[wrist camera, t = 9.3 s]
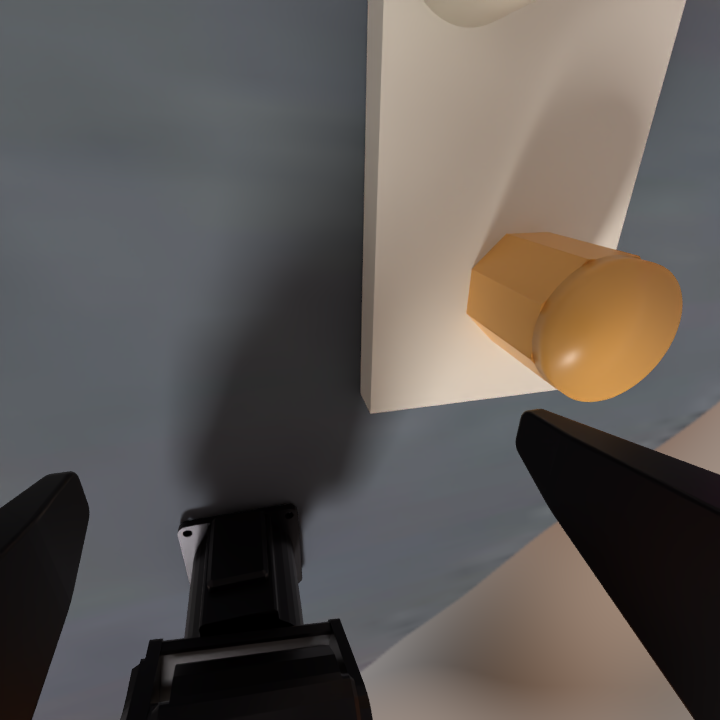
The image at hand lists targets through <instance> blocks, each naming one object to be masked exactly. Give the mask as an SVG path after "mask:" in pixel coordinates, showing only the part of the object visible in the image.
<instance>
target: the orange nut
mask: <svg viewBox="0 0 720 720" xmlns="http://www.w3.org/2000/svg"><path fill="white" fill-rule="evenodd" d="M466 314H468V316H469V317H470V318H471V319H472V320H473V321H474V322H475V323H476V324H477V325H478V326H479V327H480V329H481V330H482V331H483V332H484V333H485V334H486V335H487V336H488V337H489V338H490V339H491V340H492V341H493V342H495V343H496V344H497V345H499V346H500V347H501V348H502V349H504V350H505V351H506V352H508V353H509V354H510V355H512V356H513V357H514V358H516V359H517V360H518V361H520V362H521V363H522V364H524V365H525V366H526V367H528V368H529V369H530V370H532V371H533V372H534V373H536V374H537V375H538V376H540V377H541V378H542V379H544V380H545V381H546V382H548V383H549V384H550V385H551V386H553V387H554V388H555V389H558V390H559V391H561V392H562V393H563V394H565V395H566V396H568V397H570V398H572V399H574V400H578V401H582V402H595V401H601V400H606V399H609V398H612V397H615V396H617V395H619V394H621V393H623V392H625V391H627V390H628V389H630V388H631V387H633V386H634V385H636V384H637V383H638V382H640V381H641V380H642V379H643V378H644V377H646V376H647V375H648V374H649V373H650V372H651V371H652V370H653V369H654V367H655V366H656V365H657V364H658V363H659V361H660V360H661V359H662V358H663V356H664V355H665V353H666V352H667V350H668V348H669V347H670V345H671V343H672V341H673V339H674V337H675V334H676V332H677V330H678V326H679V323H680V319H681V314H682V294H681V289H680V286H679V284H678V281H677V280H676V278H675V277H674V275H673V274H672V273H671V272H670V271H669V270H668V269H666V268H665V267H663V266H661V265H659V264H656V263H653V262H649V261H645V260H642V259H641V258H640V256H637V255H633V254H630V253H626V252H622V251H618V250H614V249H611V248H607V247H603V246H599V245H595V244H592V243H588V242H584V241H580V240H577V239H573V238H569V237H565V236H561V235H558V234H554V233H550V232H537V233H514V234H506V235H505V236H504V237H503V238H502V239H501V240H500V241H499V242H498V243H497V244H496V245H495V246H494V247H493V248H492V249H491V250H490V251H489V252H488V253H487V254H486V255H485V256H484V257H483V258H482V259H481V260H480V261H479V262H478V263H477V264H476V265H475V266H474V267H473V268H472V271H471V279H470V287H469V295H468V303H467V311H466Z"/></svg>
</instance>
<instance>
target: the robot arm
mask: <svg viewBox="0 0 720 720" xmlns="http://www.w3.org/2000/svg"><path fill="white" fill-rule="evenodd" d="M516 448H517V451H518V453H519V455H520V457H521V458H522V460H523V462H524V464H525V466H526V468H527V469H528V471H529V473H530V475H531V477H532V478H533V480H534V482H535V484H536V486H537V487H538V489H539V491H540V493H541V495H542V496H543V498H544V500H545V502H546V503H547V505H548V507H549V508H550V510H551V512H552V513H553V515H554V516H555V518H556V519H557V521H558V522H559V524H560V525H561V526H562V528H563V529H564V531H565V532H566V534H567V535H568V536H569V538H570V539H571V541H572V542H573V544H574V545H575V547H576V548H577V550H578V551H579V553H580V554H581V556H582V557H583V558H584V560H585V561H586V563H587V564H588V566H589V567H590V569H591V570H592V571H593V573H594V574H595V576H596V577H597V579H598V580H599V582H600V583H601V585H602V586H603V588H604V589H605V590H606V592H607V593H608V595H609V596H610V598H611V599H612V600H613V602H614V604H615V605H616V606H617V608H618V609H619V611H620V612H621V614H622V615H623V617H624V618H625V620H626V621H627V622H628V624H629V625H630V627H631V628H632V630H633V631H634V633H635V634H636V636H637V637H638V638H639V640H640V641H641V643H642V644H643V646H644V647H645V649H646V650H647V652H648V653H649V655H650V656H651V657H652V659H653V660H654V662H655V663H656V665H657V666H658V667H659V669H660V671H661V672H662V673H663V675H664V676H665V678H666V679H667V681H668V682H669V684H670V685H671V687H672V688H673V690H674V691H675V692H676V694H677V695H678V697H679V698H680V700H681V701H682V703H683V704H684V705H685V707H686V708H687V710H688V711H689V713H690V714H691V716H692V717H693V719H694V720H720V475H719V474H716V473H713V472H711V471H708V470H705V469H703V468H700V467H697V466H695V465H692V464H689V463H687V462H684V461H681V460H679V459H676V458H673V457H671V456H668V455H665V454H662V453H660V452H657V451H654V450H652V449H649V448H646V447H644V446H641V445H638V444H635V443H633V442H630V441H627V440H625V439H622V438H619V437H617V436H614V435H611V434H608V433H606V432H603V431H600V430H598V429H595V428H592V427H590V426H587V425H584V424H581V423H579V422H576V421H573V420H571V419H568V418H565V417H563V416H560V415H557V414H554V413H552V412H549V411H546V410H544V409H534V410H527V411H525V412H523V414H522V415H521V419H520V423H519V428H518V432H517V436H516ZM288 512H291V513H289V514H286V513H288ZM88 521H89V505H88V502H87V499H86V497H85V494H84V491H83V488H82V485H81V482H80V479H79V477H78V475H77V474H76V473H74V472H72V471H69V472H62V473H54V474H49V475H46V476H45V477H43V478H42V479H40V480H39V481H38V482H36V483H35V484H33V485H32V486H31V487H29V488H28V489H26V490H25V491H24V492H22V493H21V494H19V495H18V496H17V497H15V498H14V499H12V500H11V501H10V502H8V503H7V504H5V505H4V506H3V507H1V508H0V720H32V717H33V714H34V711H35V709H36V706H37V703H38V700H39V697H40V694H41V691H42V688H43V685H44V682H45V679H46V676H47V673H48V670H49V667H50V664H51V661H52V658H53V655H54V652H55V649H56V646H57V643H58V640H59V637H60V634H61V631H62V628H63V625H64V622H65V619H66V616H67V613H68V610H69V606H70V603H71V599H72V595H73V591H74V587H75V582H76V577H77V572H78V568H79V563H80V558H81V554H82V549H83V544H84V540H85V535H86V530H87V526H88ZM186 530H190V531H186ZM178 538H179V542H180V546H181V550H182V554H183V559H184V563H185V567H186V571H187V575H188V579H189V583H190V593H189V602H188V611H187V619H186V628H185V637H184V638H183V639H174V640H166V641H163V639H154V640H150V641H149V645H148V649H147V654H146V658H145V659H141V661H140V664H139V665H137V666H136V667H135V668H133V669H132V672H131V677H130V682H129V686H128V691H127V696H126V700H125V705H124V709H123V713H122V716H121V719H120V720H373V719H372V713H371V707H370V703H369V698H368V695H367V692H366V688H365V685H364V682H363V679H362V677H361V674H360V672H359V669H358V666H357V664H356V661H355V658H354V656H353V653H352V650H351V648H350V645H349V642H348V640H347V637H346V634H345V632H344V629H343V627H342V624H341V621H340V619H330V620H328V622H322V623H313V624H303V616H302V609H301V601H300V594H299V586H298V583H299V582H300V581H301V580H302V568H301V553H300V538H299V523H298V511H297V507H296V506H295V505H293V504H286V505H280V506H274V507H268V508H262V509H256V510H250V511H245V512H239V513H233V514H227V515H221V516H215V517H210V518H204V519H198V520H192V521H187V522H183V523H182V524H181V525H180V526H179V529H178Z"/></svg>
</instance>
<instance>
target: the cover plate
mask: <svg viewBox="0 0 720 720" xmlns="http://www.w3.org/2000/svg"><path fill="white" fill-rule="evenodd" d="M685 2H686V0H368V24H367V76H366V128H365V179H364V231H363V282H362V334H361V385H360V394H361V396H362V398H363V400H364V402H365V404H366V406H367V408H368V410H369V412H370V414H372V413H379V412H387V411H395V410H403V409H411V408H418V407H426V406H434V405H442V404H450V403H457V402H465V401H473V400H481V399H489V398H496V397H504V396H512V395H520V394H528V393H535V392H543V391H551V390H558V389H555V388H554V387H553V386H551V385H550V384H549V383H548V382H546V381H545V380H544V379H542V378H541V377H540V376H538V375H537V374H536V373H534V372H533V371H532V370H530V369H529V368H528V367H526V366H525V365H524V364H522V363H521V362H520V361H518V360H517V359H516V358H514V357H513V356H512V355H510V354H509V353H508V352H506V351H505V350H504V349H502V348H501V347H500V346H499V345H497V344H496V343H495V342H493V341H492V340H491V339H490V338H489V337H488V336H487V335H486V334H485V333H484V332H483V331H482V330H481V329H480V327H479V326H478V325H477V324H476V323H475V322H474V321H473V320H472V319H471V318H470V317H469V316H468V314H466V311H467V303H468V295H469V287H470V279H471V271H472V268H473V267H474V266H475V265H476V264H477V263H478V262H479V261H480V260H481V259H482V258H483V257H484V256H485V255H486V254H487V253H488V252H489V251H490V250H491V249H492V248H493V247H494V246H495V245H496V244H497V243H498V242H499V241H500V240H501V239H502V238H503V237H504V236H505V235H506V234H514V233H537V232H550V233H554V234H558V235H561V236H565V237H569V238H573V239H577V240H580V241H584V242H588V243H592V244H595V245H599V246H603V247H607V248H611V249H614V250H616V248H617V244H618V241H619V237H620V234H621V230H622V227H623V223H624V220H625V216H626V212H627V209H628V205H629V202H630V198H631V195H632V191H633V188H634V184H635V180H636V177H637V173H638V170H639V166H640V163H641V159H642V155H643V152H644V148H645V145H646V141H647V138H648V134H649V131H650V127H651V123H652V120H653V116H654V113H655V109H656V106H657V102H658V99H659V95H660V91H661V88H662V84H663V81H664V77H665V74H666V70H667V66H668V63H669V59H670V56H671V52H672V49H673V45H674V42H675V38H676V34H677V31H678V27H679V24H680V20H681V17H682V13H683V9H684V6H685Z"/></svg>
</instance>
